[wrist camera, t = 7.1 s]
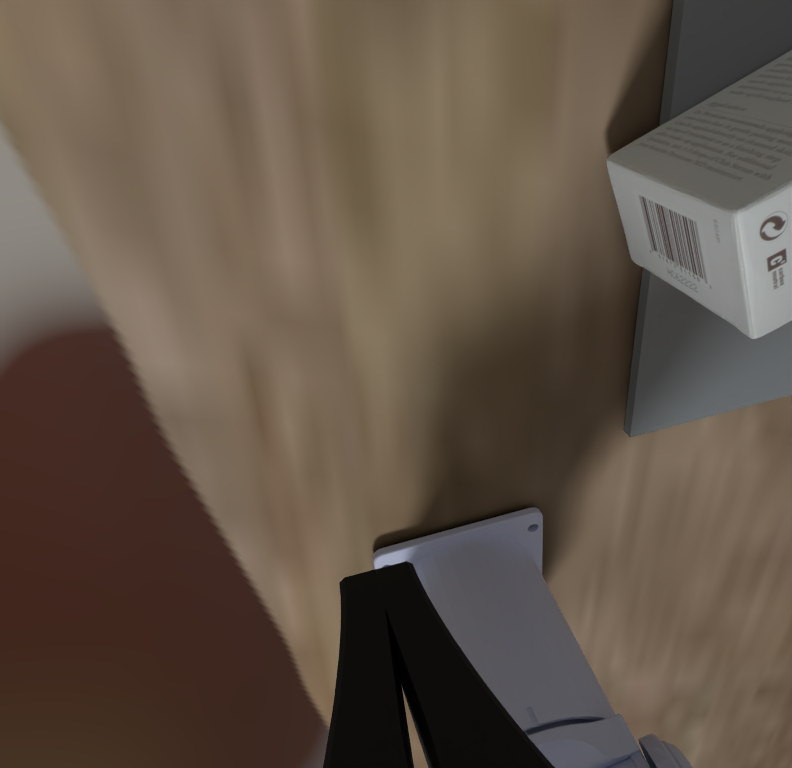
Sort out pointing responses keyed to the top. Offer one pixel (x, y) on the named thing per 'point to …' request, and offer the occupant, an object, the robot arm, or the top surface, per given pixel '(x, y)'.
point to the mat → (668, 306)
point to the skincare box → (718, 200)
